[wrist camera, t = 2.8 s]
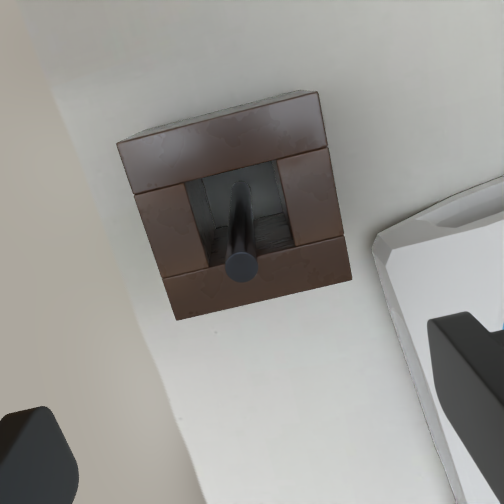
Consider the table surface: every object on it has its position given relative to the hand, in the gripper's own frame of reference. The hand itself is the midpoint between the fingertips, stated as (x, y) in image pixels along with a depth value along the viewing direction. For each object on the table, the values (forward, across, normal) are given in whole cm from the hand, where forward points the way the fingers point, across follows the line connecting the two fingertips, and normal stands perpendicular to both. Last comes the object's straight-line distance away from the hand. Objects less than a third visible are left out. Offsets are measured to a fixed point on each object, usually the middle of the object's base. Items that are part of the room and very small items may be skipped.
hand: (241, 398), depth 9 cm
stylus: (+21, 0, 0) cm, 21 cm away
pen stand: (+21, 0, 0) cm, 21 cm away
